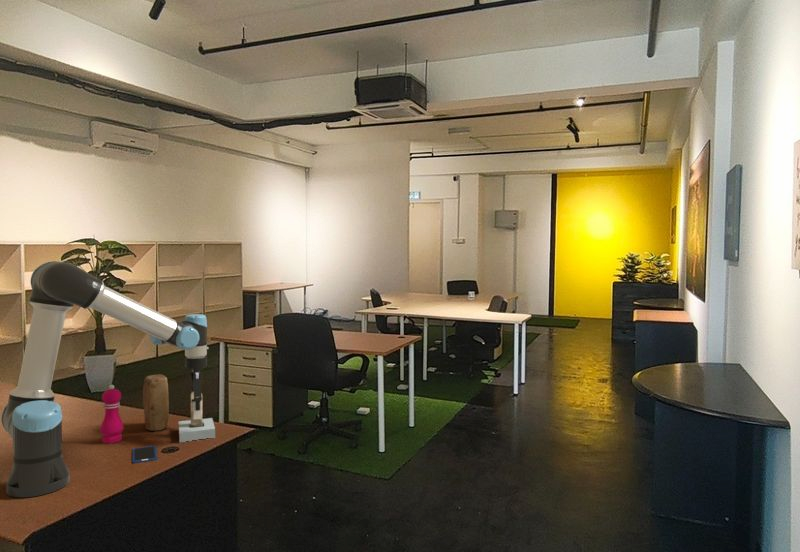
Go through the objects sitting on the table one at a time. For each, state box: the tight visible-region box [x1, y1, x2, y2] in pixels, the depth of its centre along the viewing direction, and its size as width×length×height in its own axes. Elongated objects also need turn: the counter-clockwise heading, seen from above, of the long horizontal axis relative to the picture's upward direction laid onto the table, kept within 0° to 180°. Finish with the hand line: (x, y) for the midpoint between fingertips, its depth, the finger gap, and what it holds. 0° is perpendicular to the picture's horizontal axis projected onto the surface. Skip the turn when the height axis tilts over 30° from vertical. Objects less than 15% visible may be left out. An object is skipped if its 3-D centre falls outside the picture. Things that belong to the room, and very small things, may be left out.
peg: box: [190, 392, 203, 428], centre depth 203 cm, size 4×4×15 cm
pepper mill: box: [100, 384, 124, 444], centre depth 195 cm, size 7×7×20 cm
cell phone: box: [131, 445, 158, 464], centre depth 183 cm, size 7×14×1 cm, turn 26°
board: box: [178, 417, 216, 443], centre depth 203 cm, size 12×14×4 cm
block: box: [142, 373, 170, 432], centre depth 210 cm, size 11×8×20 cm
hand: (196, 413), depth 203 cm, fingers open, 13 cm apart
